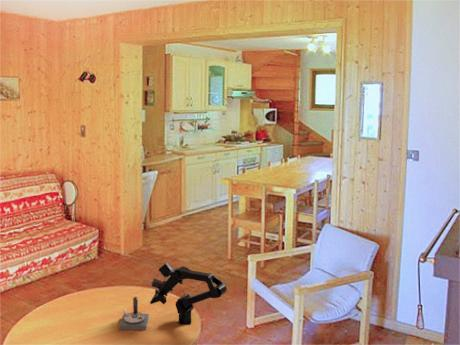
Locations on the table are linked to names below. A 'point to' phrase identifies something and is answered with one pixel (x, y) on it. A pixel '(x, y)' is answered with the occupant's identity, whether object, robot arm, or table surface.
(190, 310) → the robot arm
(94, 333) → the table surface
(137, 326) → the post base
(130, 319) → the grey round part
